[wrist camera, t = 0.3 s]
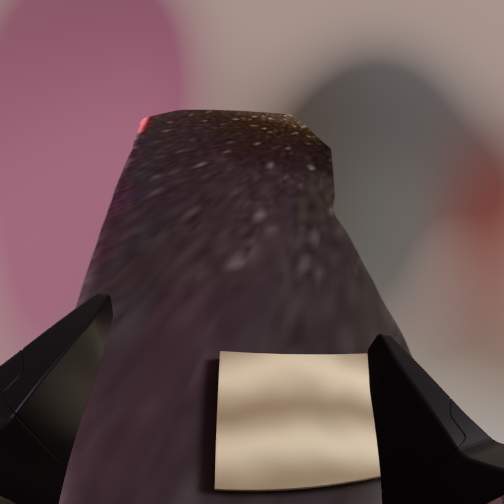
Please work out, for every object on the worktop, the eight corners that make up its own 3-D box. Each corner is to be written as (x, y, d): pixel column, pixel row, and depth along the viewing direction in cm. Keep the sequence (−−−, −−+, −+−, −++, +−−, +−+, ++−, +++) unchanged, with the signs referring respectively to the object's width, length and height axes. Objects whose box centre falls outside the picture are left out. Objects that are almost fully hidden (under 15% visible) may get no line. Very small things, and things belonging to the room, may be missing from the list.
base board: (428, 464, 19) (435, 460, 18) (214, 490, 17) (214, 488, 16) (399, 357, 28) (404, 351, 27) (219, 358, 26) (220, 351, 26)
